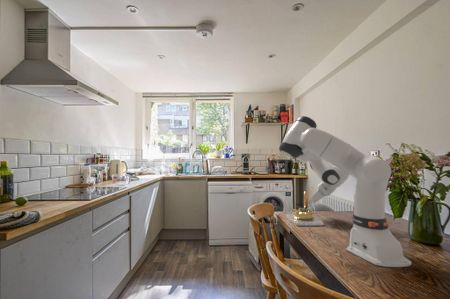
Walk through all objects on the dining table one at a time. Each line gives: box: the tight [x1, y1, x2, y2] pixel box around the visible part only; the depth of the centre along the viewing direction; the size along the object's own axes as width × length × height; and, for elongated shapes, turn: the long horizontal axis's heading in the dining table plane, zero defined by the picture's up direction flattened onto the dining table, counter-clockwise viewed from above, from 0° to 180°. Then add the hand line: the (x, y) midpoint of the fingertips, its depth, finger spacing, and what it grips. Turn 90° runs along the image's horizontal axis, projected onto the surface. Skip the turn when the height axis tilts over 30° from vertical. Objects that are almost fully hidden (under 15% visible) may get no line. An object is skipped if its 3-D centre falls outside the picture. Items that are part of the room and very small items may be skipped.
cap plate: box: [285, 213, 324, 227], centre depth 144 cm, size 20×15×2 cm
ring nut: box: [292, 190, 315, 220], centre depth 146 cm, size 12×15×14 cm
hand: (308, 203), depth 150 cm, fingers closed, pressing on ring nut
